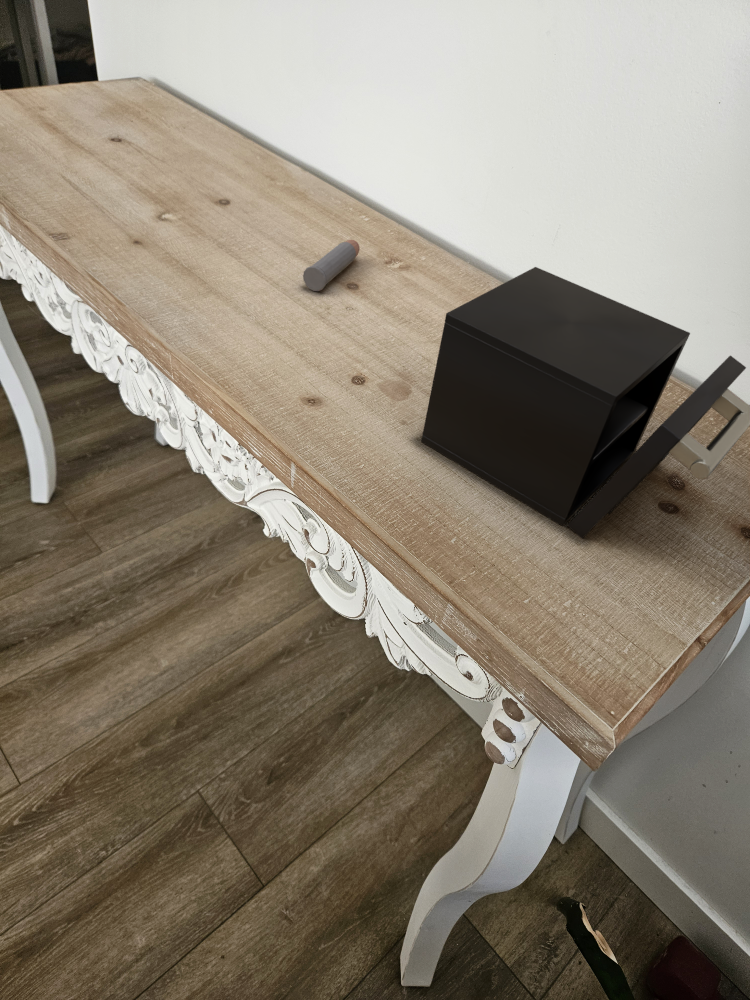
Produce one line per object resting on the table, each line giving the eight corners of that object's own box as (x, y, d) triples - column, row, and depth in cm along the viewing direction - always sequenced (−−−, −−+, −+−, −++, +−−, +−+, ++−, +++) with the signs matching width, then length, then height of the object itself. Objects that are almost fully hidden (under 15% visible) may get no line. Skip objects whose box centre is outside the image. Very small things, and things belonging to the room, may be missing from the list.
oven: (633, 454, 67) (690, 332, 58) (562, 526, 58) (616, 396, 49) (502, 385, 73) (535, 266, 64) (420, 441, 64) (446, 312, 56)
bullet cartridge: (324, 294, 83) (326, 270, 81) (301, 287, 84) (302, 263, 82) (362, 261, 91) (365, 238, 89) (341, 254, 92) (343, 232, 90)
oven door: (678, 487, 65) (780, 392, 56) (612, 566, 57) (718, 470, 47) (637, 453, 66) (730, 354, 57) (566, 525, 58) (661, 424, 48)
